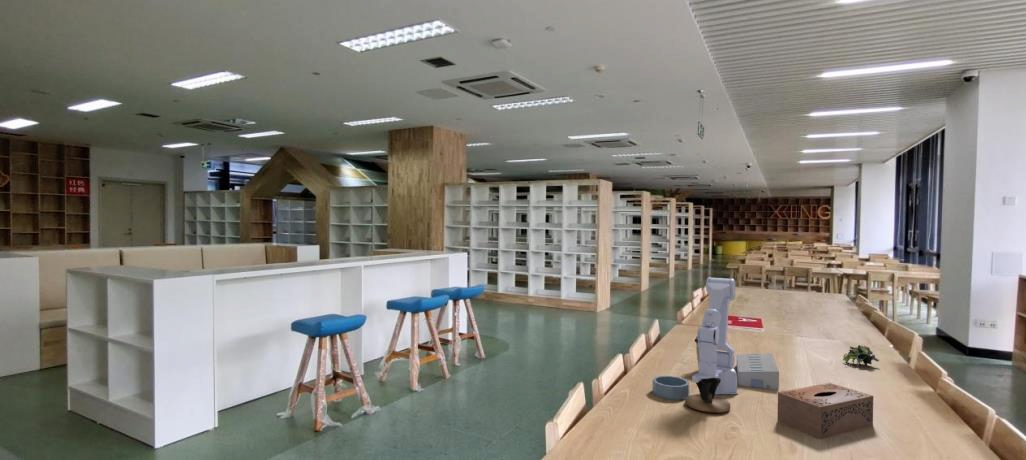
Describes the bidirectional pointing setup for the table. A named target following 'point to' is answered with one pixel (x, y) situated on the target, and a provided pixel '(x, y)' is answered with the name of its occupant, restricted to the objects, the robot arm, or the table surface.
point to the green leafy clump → (860, 355)
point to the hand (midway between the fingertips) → (707, 398)
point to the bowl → (670, 387)
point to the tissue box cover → (825, 410)
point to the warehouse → (757, 371)
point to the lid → (707, 403)
